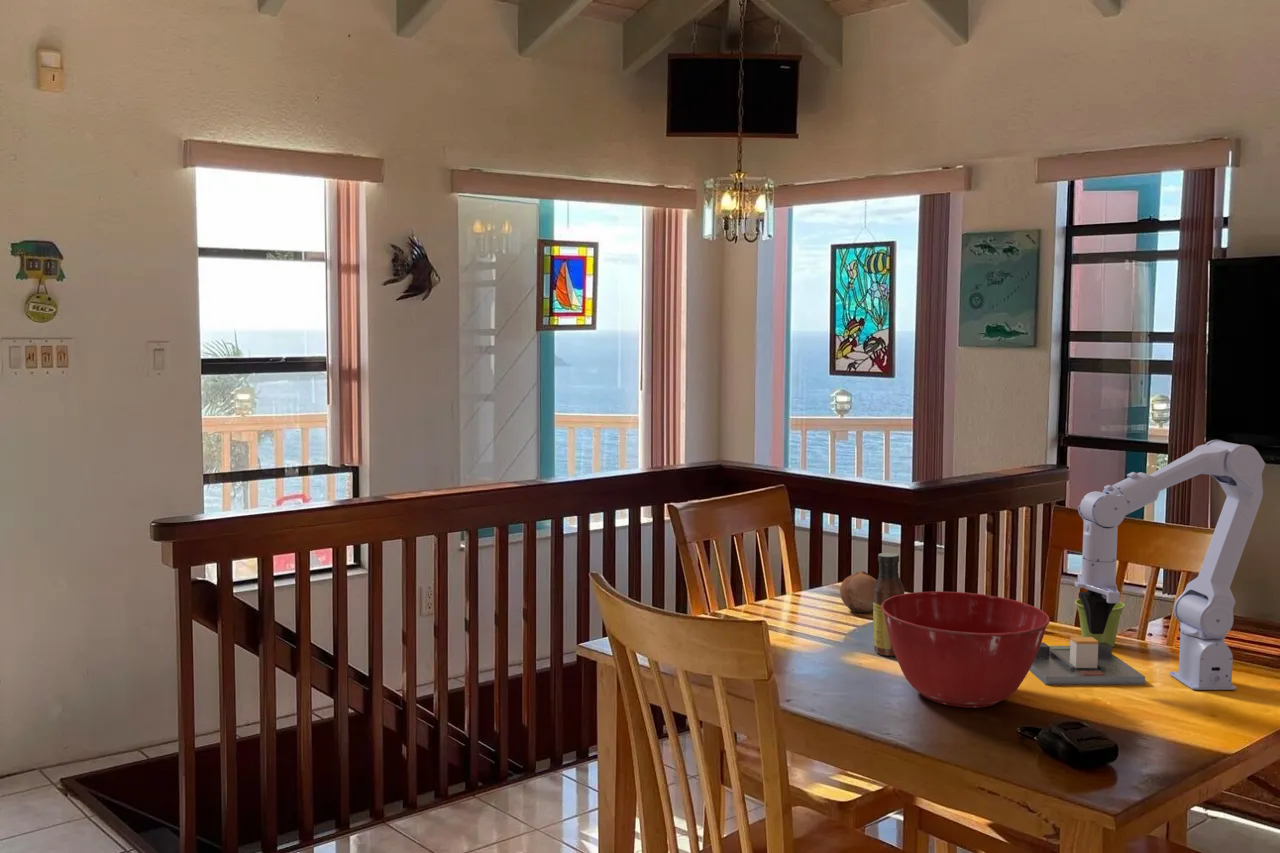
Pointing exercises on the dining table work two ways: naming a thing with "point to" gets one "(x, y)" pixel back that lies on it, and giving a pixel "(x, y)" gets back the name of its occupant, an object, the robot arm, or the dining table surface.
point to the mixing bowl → (963, 644)
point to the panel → (1059, 671)
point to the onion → (858, 592)
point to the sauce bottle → (883, 590)
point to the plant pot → (1111, 625)
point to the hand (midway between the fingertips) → (1096, 633)
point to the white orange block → (1084, 652)
